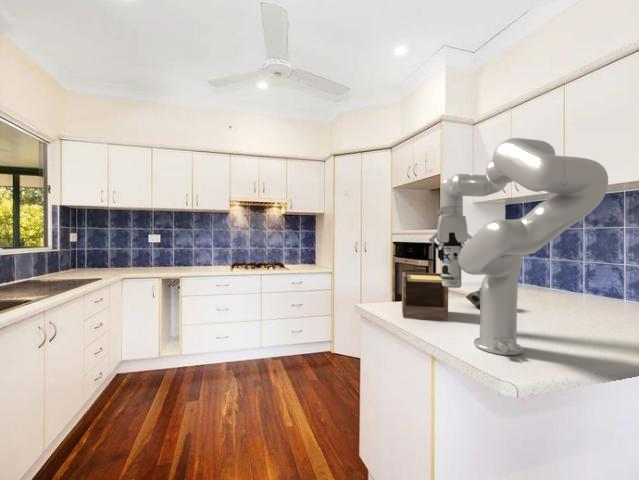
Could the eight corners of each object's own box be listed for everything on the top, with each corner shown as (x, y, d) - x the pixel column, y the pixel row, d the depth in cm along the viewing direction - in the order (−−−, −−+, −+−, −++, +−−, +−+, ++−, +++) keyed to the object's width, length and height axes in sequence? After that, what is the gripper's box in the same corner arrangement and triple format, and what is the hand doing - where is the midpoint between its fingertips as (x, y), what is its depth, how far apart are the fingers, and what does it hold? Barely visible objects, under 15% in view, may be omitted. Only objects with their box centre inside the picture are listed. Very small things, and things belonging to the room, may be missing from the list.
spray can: (437, 285, 113) (437, 232, 113) (451, 285, 115) (451, 233, 116) (451, 288, 107) (451, 232, 107) (465, 287, 109) (465, 232, 109)
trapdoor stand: (447, 321, 119) (448, 278, 119) (402, 317, 123) (403, 276, 123) (441, 311, 136) (441, 273, 135) (401, 308, 140) (402, 272, 140)
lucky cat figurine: (482, 303, 152) (498, 280, 148) (499, 318, 142) (517, 294, 137) (460, 296, 148) (475, 272, 143) (475, 311, 137) (493, 286, 133)
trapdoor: (443, 282, 121) (443, 279, 121) (407, 281, 124) (407, 277, 124) (438, 278, 134) (438, 275, 134) (406, 276, 138) (406, 274, 138)
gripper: (428, 212, 110) (428, 260, 110) (480, 211, 106) (480, 261, 105) (425, 214, 117) (425, 259, 117) (474, 213, 113) (474, 260, 113)
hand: (451, 260), depth 111 cm, fingers closed on spray can, 6 cm apart
